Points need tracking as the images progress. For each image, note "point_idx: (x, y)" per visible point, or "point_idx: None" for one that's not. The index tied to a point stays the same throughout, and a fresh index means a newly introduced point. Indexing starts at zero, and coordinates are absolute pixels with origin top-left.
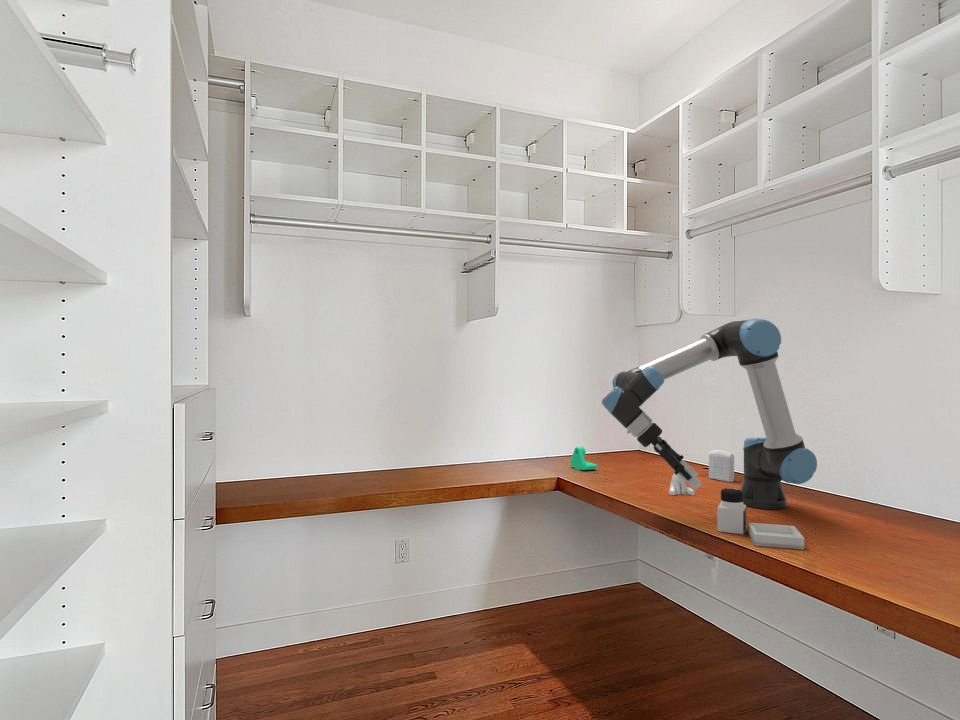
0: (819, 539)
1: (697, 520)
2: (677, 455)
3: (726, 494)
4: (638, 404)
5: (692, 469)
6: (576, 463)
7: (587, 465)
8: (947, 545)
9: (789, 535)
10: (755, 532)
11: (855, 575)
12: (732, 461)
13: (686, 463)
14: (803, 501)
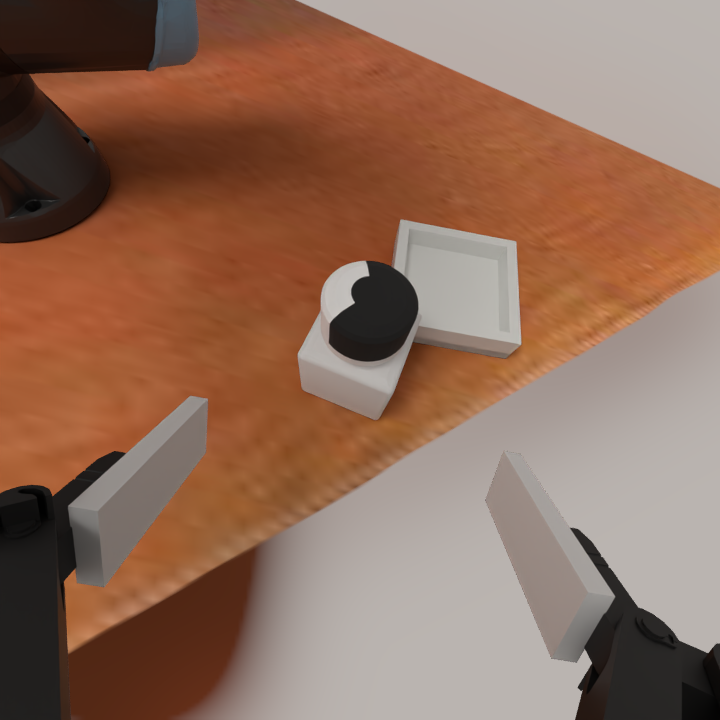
0: (409, 202)
1: (232, 456)
2: (58, 601)
3: (405, 334)
4: None
5: (178, 431)
6: None
7: None
8: (405, 52)
9: (424, 251)
10: (497, 335)
11: (642, 243)
12: None
13: (135, 475)
14: None
